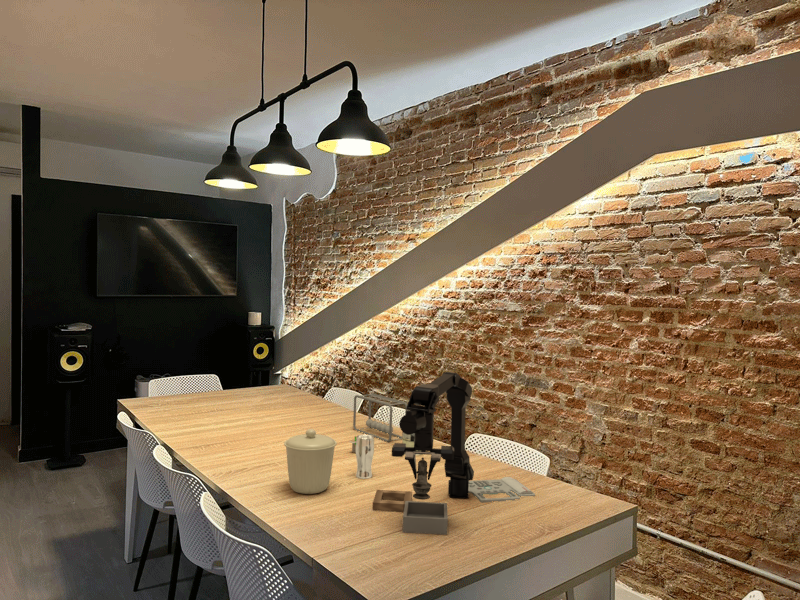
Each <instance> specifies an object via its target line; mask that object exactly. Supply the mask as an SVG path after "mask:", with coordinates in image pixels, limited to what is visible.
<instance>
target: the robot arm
mask: <svg viewBox="0 0 800 600" xmlns="http://www.w3.org/2000/svg"><path fill="white" fill-rule="evenodd" d="M445 393H446V401H447V402H448V404H449V406H450V409H451V410H450V411H451V412H450V415H451V417H450V420H451V421H450V428H451V429H450V445H441V448H434V421H435V420H434V418H435V417H434V416H435V415H434V414H435V412H437V408H436V406H437V404H438V403H439V402H440V396H441V395H443V394H445ZM472 394H473V387H472V385H471V384H470V382H469V381H468V380H467V379H465V378H463V377H461V375H460V374H459V373H457V372H452V371H445V372H443V373H442V374H441V376H439V377H437V378H436V379H434V380H433V381H431V382H430V383H427V384H420V385H416V386H415V387H414V388H413V389H412V392H411V394H410V397H409V399H408V402H407V407H405V409H407V411H406V415H403V416H402V417H401V418H400V421H399V428H400V430H401V432H402V434H403V433H405V434H407V435H411V437H410V441H411V442H414V447H406V444H405V443H402V442H400V443H399V442H394V443H393V444H392V448H391V457H396V458H403V456H404V460H405V461H408V464H409V466H410V467H411V470H412V473H413V476H414V480H417V473H416V472H417V471H418V468H417V460H416V457H417V455H415V454H422V455H430V459H429V460H430V461H429V468H428V471H427V472H428V474H427V481H430V479H431V476H432V473H433V471H434V468H435V466H436V465H437V463H441V459H442V460H444V466H443V467H444V472H445V477H446V478H450V479H449V480H448V484H447V485H448V486H447V493H448V495H449V498H453V499H454V498H455V499H469V498H470V497H469V496H470V495H469V493H468V488H469V481H474V480H473V479H474V476H475V475H474V474H475V470H474V469H473V467H472V465H471V462H470V461H471V460H470V455H469V453H468V451H467V450H466V412H467V411H466V408H467V406H468V404H469V402H470V401H471V396H472ZM416 450H417V451H416Z"/></svg>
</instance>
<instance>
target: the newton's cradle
mask: <svg viewBox="0 0 800 600" xmlns="http://www.w3.org/2000/svg"><path fill="white" fill-rule="evenodd" d="M373 397H374V398H373ZM357 398H358V399H360V400H361V399H362V400H365V401H366V404H367V405H366V406H368V411H367V413H368V414H367V415H368V418H367V419H366V421H365V425H366V427H367V429H372V428H374V429H377V430H379V431H378V432H380V431H382V432H381V433H383V432H385V433H384V434H386V433H388V434H387V435H388V439H387V438H385V437H381V436H378V435H376V434H373V433H370V432H368V431H364V430H365V429H364V428H365V427H362V428H357V427H356V420H357V419H356V418H357V414H356V413H357ZM376 398H377V399H376ZM381 400H382V401H381ZM383 400H384V401H383ZM391 402H392V403H391ZM374 403H376V405H377V406H379V405H380V406H381V415H380V416H378V413H376V415H375V413H374V412H372V410H374ZM395 405H404V407H405V410H404V411H405V415H406V411H407V409H406V407H407V405H408V402H406V401H403V400H399V399H395V398H391V397H389V396H384V395H381V394H377V393H376V394H375V393H372V392H371V393H370V394H362V395H361V394H360V395H359V394H356V395H354V396H353V416H352V417H353V418H352V420H353V422H352V423H353V424H352V425H353V426H352V427H353V429H355V430H357V431H356V432H358V431H360V432H359V433H361V432H363V433H362V434H364V433H365V434H364V435H366V434H368V435H372V436H374V438H375V437H376V438H375V439H377V438H379V439H378V440H380V439H381V441H383V440H384V441H383V442H386V441H387V442H386V443H390V442H392V440H393V441H398V440H402V435H399V434H396V433H393V432H394V427H393V410H394V409H393V407H394V406H395ZM383 406H386V412H388V408H389V415H388V413H386V416H385V417H389V421H387V419H385V420H384V419H379V417H383V415H384V413H383V412H384V411H383V410H384V407H383ZM378 408H379V407H376V412H379V409H378ZM372 415H373V417H377V418H378V419H377V418H374V419H373V420H372V419H371V418H372ZM377 420H379V421H377ZM381 420H382V421H383V423H382V421H381ZM386 421H387V422H388V424H386ZM370 427H371V428H370ZM359 429H360V430H359ZM374 429H373V430H374ZM355 430H354V431H355ZM377 430H376V431H377ZM392 435H394V436H392ZM395 436H397V437H396V438H394V439H392V437H395ZM398 437H399V438H398Z"/></svg>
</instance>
